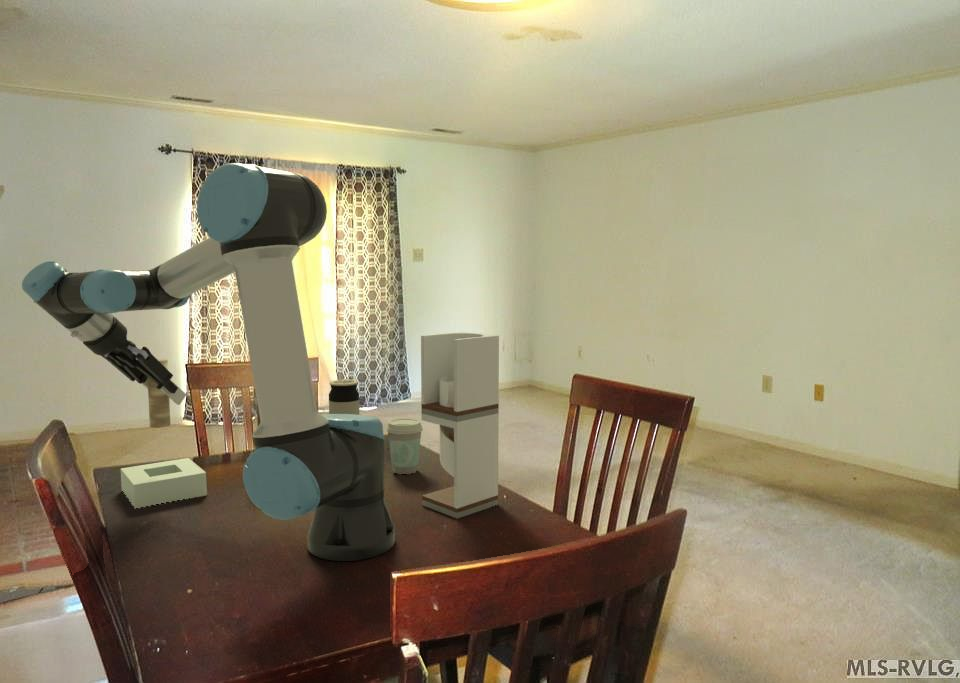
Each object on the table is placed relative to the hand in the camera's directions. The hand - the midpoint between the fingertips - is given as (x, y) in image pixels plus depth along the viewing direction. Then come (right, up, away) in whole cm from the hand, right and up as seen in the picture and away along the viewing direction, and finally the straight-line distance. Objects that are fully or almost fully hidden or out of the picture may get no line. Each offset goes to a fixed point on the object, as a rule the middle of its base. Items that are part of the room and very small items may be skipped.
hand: (174, 398), depth 151 cm
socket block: (-2, -20, -1) cm, 20 cm away
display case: (+62, -21, -8) cm, 66 cm away
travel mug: (+30, -16, +36) cm, 50 cm away
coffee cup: (+48, -19, +15) cm, 54 cm away
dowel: (-2, -6, -3) cm, 6 cm away
